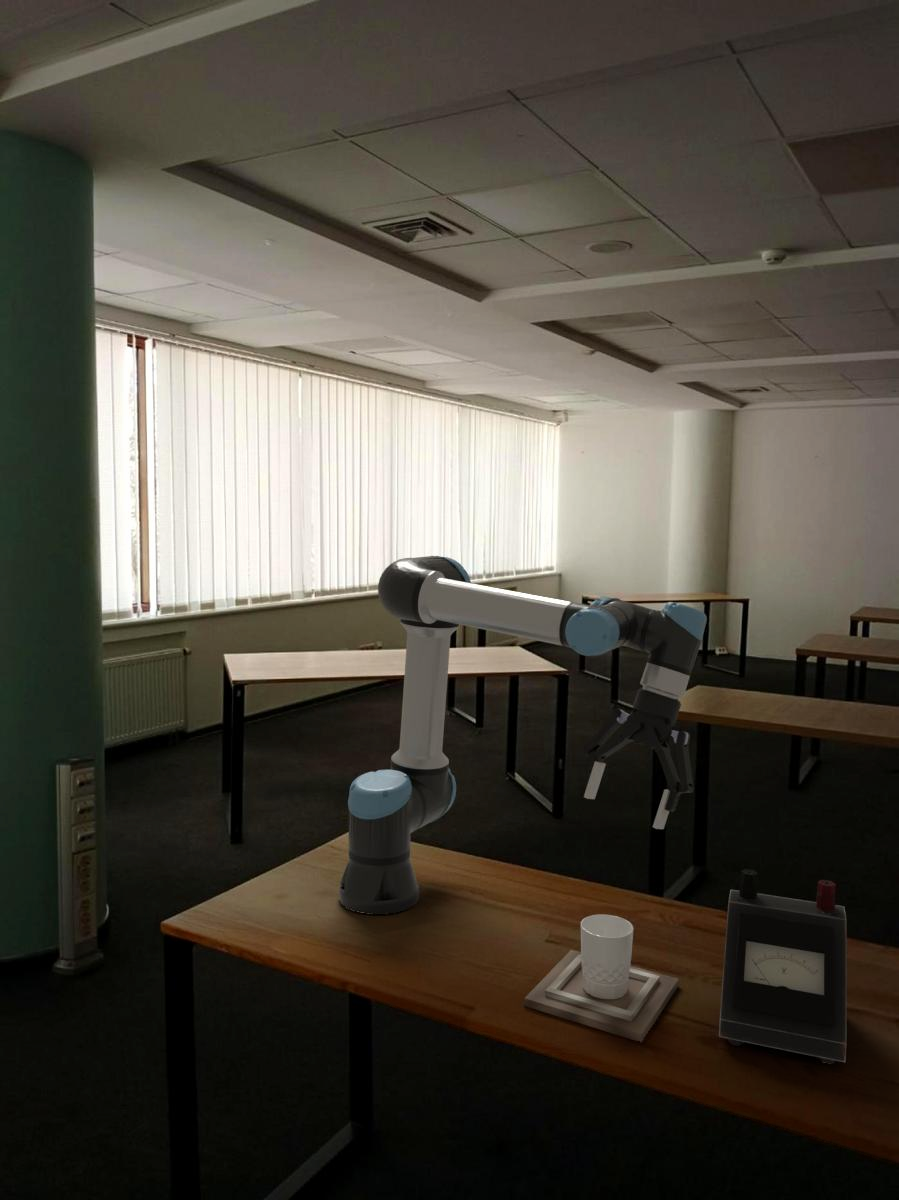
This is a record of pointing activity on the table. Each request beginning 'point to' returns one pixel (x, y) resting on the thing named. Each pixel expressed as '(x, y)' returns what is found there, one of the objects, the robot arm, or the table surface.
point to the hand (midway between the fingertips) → (622, 813)
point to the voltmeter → (785, 972)
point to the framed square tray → (616, 1016)
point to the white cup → (606, 955)
